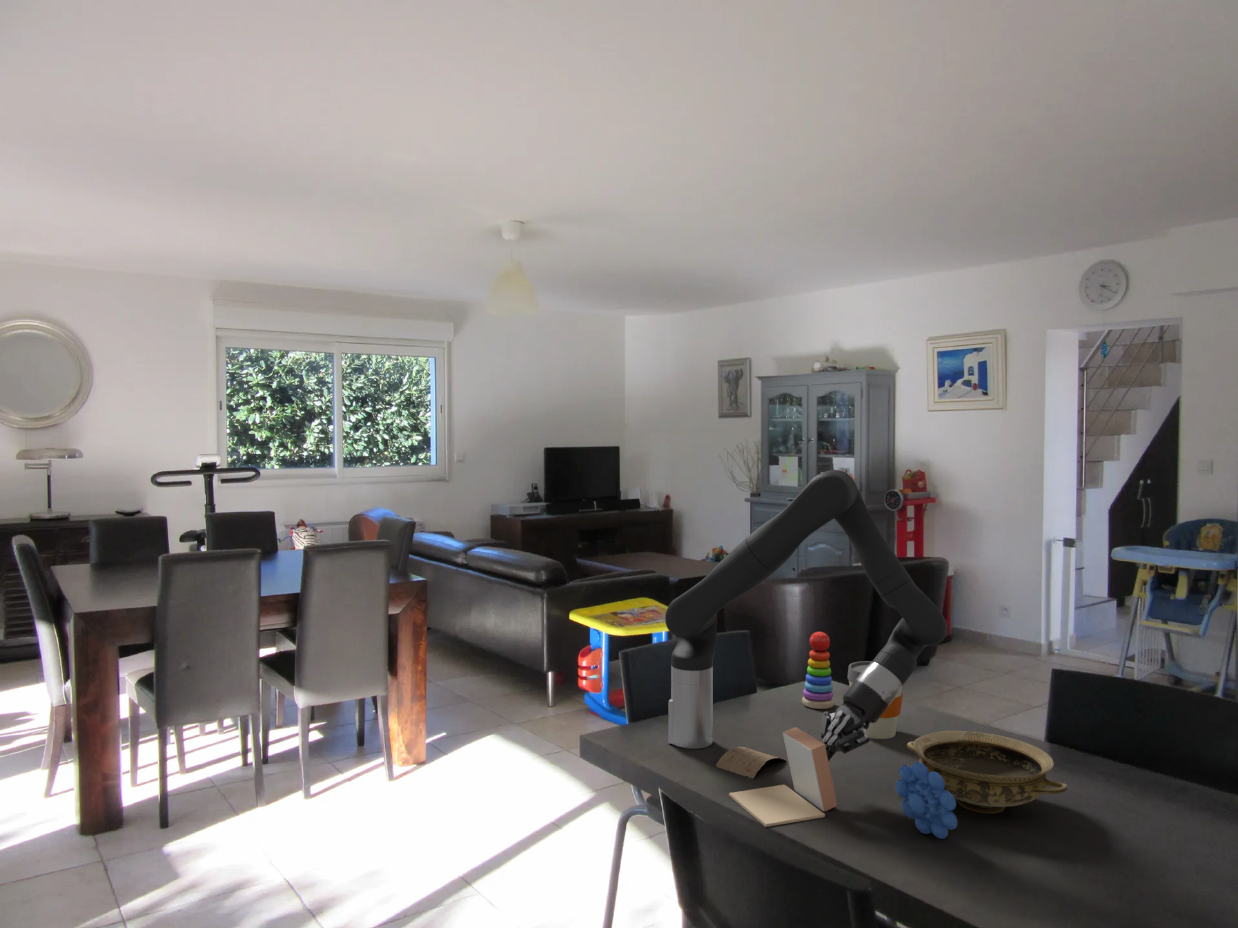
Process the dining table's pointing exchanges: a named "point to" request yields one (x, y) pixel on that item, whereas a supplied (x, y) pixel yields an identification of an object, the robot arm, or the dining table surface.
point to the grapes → (926, 800)
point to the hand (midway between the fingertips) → (817, 762)
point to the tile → (810, 768)
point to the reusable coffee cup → (888, 719)
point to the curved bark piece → (744, 761)
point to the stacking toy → (818, 674)
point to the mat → (776, 805)
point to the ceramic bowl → (986, 768)
